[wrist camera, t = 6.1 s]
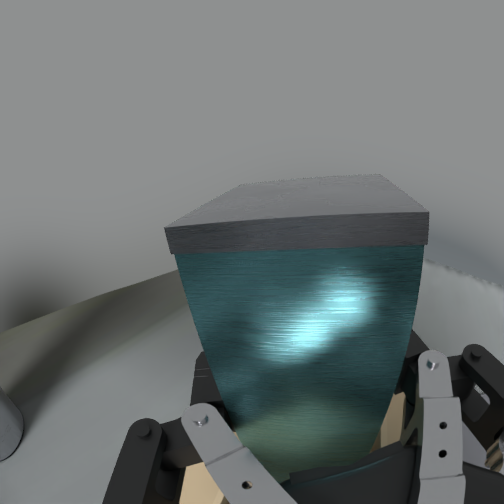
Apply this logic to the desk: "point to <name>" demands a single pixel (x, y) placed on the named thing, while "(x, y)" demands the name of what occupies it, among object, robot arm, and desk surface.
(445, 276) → the desk surface
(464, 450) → the mat
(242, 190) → the tall box
